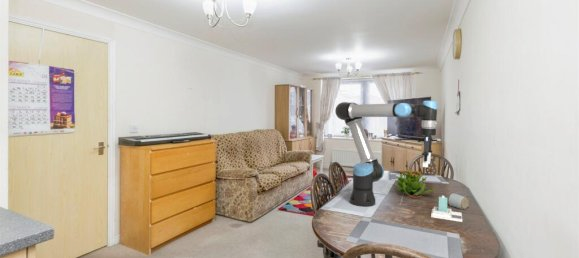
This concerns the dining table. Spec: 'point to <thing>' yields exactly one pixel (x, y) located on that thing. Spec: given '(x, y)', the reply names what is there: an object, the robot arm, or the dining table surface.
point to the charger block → (442, 204)
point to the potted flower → (411, 184)
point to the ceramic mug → (458, 201)
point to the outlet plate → (446, 214)
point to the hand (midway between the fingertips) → (426, 165)
